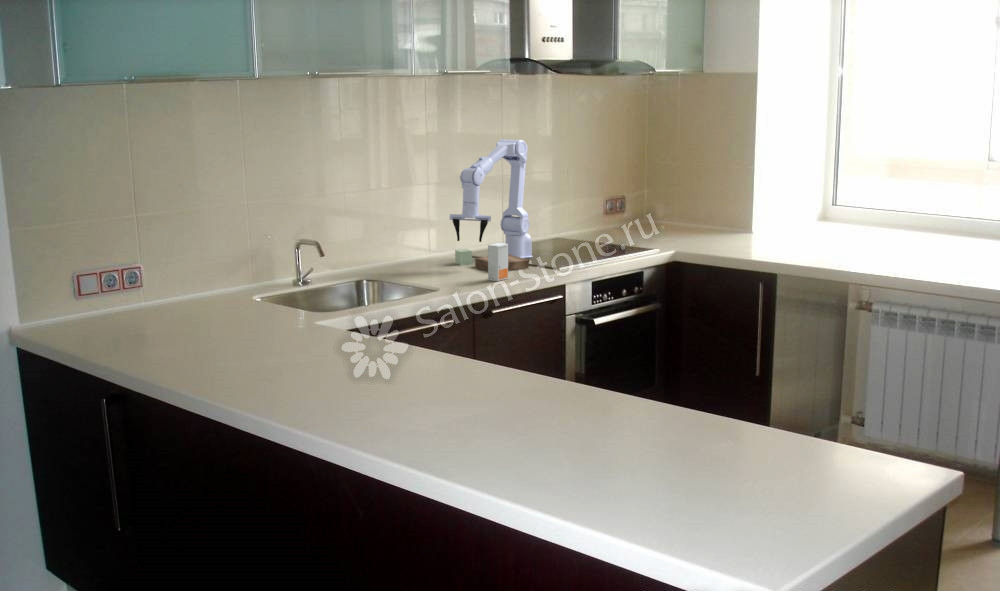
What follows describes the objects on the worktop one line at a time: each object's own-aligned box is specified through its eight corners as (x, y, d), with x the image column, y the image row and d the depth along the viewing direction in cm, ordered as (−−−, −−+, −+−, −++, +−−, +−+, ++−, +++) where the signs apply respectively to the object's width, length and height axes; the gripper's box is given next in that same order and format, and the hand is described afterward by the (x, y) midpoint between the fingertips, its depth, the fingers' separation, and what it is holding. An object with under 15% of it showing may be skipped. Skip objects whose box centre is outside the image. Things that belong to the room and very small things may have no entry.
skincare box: (497, 281, 332) (497, 246, 329) (487, 280, 334) (487, 245, 331) (508, 278, 336) (508, 243, 334) (498, 277, 339) (498, 242, 336)
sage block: (466, 262, 367) (466, 248, 366) (472, 264, 363) (471, 250, 362) (455, 263, 365) (455, 250, 364) (461, 265, 361) (460, 251, 360)
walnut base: (508, 262, 366) (508, 254, 365) (528, 268, 354) (528, 260, 353) (475, 266, 359) (475, 258, 358) (494, 272, 347) (494, 264, 346)
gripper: (450, 202, 345) (448, 241, 347) (491, 204, 346) (490, 243, 348) (450, 201, 352) (448, 239, 354) (491, 202, 353) (489, 241, 355)
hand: (469, 241), depth 351 cm, fingers open, 7 cm apart
